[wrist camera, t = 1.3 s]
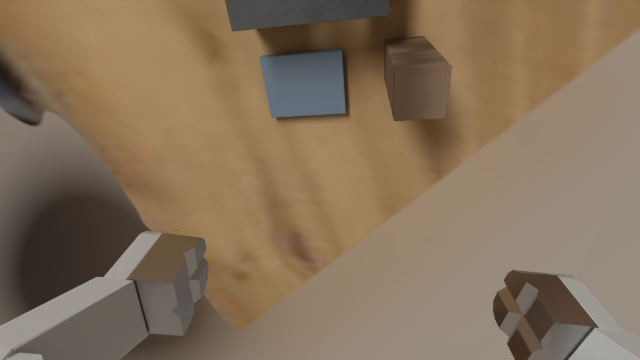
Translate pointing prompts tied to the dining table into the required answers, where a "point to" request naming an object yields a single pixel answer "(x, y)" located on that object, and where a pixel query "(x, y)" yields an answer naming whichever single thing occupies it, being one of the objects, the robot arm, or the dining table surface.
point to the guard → (299, 12)
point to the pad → (305, 83)
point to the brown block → (416, 79)
